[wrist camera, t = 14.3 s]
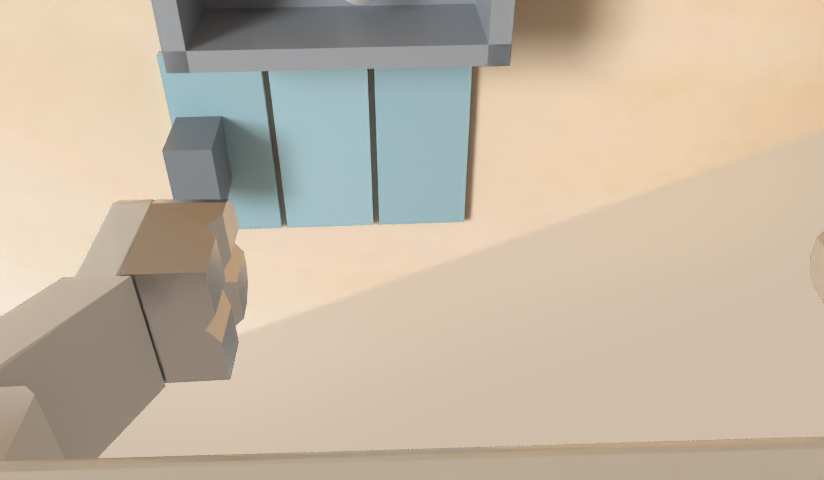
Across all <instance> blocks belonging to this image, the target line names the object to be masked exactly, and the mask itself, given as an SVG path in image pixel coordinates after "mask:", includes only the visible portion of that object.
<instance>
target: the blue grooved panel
mask: <svg viewBox="0 0 824 480" xmlns="http://www.w3.org/2000/svg"><path fill="white" fill-rule="evenodd" d="M157 59H158V64H159V68H160V73H161V77H162V82H163V86H164V91H165V96H166V100H167V105H168V109H169V114H170V119H171V123H172V128H171V131H170V133H169V136H168V138H167V141H166V143H165V146H164V148H163V151H162V152H163V156H164V160H165V165H166V169H167V173H168V178H169V182H170V186H171V191H172V195H173V199H174V200H190V199H230V200H231V201H232V203H233V204H234V206H235V210H236V215H237V219H238V224H239V227H238V229H259V228H282V217H281V209H280V201H279V193H278V185H277V178H276V170H275V162H274V154H273V147H272V139H271V131H270V123H269V116H268V108H267V100H266V92H265V85H264V77H263V71H255V72H211V73H168V74H167V73H166V68H165V64H164V59H163V54H162V51H159V52H158V54H157ZM268 75H269V83H270V91H271V99H272V107H273V115H274V123H275V131H276V139H277V147H278V155H279V163H280V171H281V179H282V187H283V195H284V203H285V211H286V219H287V227H288V228H289V227H320V226H350V225H373V200H372V174H371V149H370V123H369V97H368V71H367V69H342V70H299V71H268ZM471 79H472V67H430V68H386V69H374V81H375V111H376V142H377V172H378V203H379V225H381V224H411V223H442V222H464V215H465V196H466V176H467V157H468V137H469V118H470V99H471Z"/></svg>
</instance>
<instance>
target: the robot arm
mask: <svg viewBox="0 0 824 480" xmlns="http://www.w3.org/2000/svg"><path fill="white" fill-rule="evenodd" d="M238 227H239V224H238V219H237V215H236V210H235V206H234V204H233V203H232V201H231V200H230V199H190V200H156V201H154V200H121V201H117V202H115V203H113V204H112V205H111V206H110V208H109V210H108V212H107V214H106V216H105V218H104V220H103V222H102V224H101V226H100V228H99V230H98V232H97V234H96V236H95V238H94V239H93V241H92V243H91V245H90V247H89V249H88V251H87V253H86V255H85V257H84V259H83V261H82V263H81V265H80V267H79V269H78V271H77V273H76V275H75V277H64V278H61V279H60V280H58V281H57V282H55V283H53V284H52V285H50V286H49V287H47V288H46V289H44V290H42V291H41V292H39V293H38V294H36V295H34V296H33V297H31V298H30V299H28V300H27V301H25V302H23V303H22V304H20V305H19V306H17V307H16V308H14V309H12V310H11V311H9V312H8V313H6V314H4V315H3V316H1V317H0V480H824V437H796V438H795V437H794V438H760V439H727V440H726V439H725V440H696V441H695V440H693V441H663V442H662V441H661V442H631V443H630V442H628V443H596V444H565V445H532V446H502V447H501V446H499V447H468V448H467V447H466V448H435V449H402V450H401V449H399V450H367V451H366V450H365V451H332V452H299V453H265V454H231V455H197V456H165V457H134V458H133V457H132V458H131V457H130V458H98V457H99V456H100V454H101V453H102V452H103V451H104V450H105V449H106V448H107V447H108V446H109V445H110V444H111V443H112V442H113V441H114V440H115V439H116V438H117V437H118V436H119V435H120V434H121V432H122V431H123V430H124V429H125V428H126V427H127V426H128V425H129V424H130V423H131V422H132V421H133V420H134V419H135V417H137V416H138V415H139V414H140V412H141V411H142V410H143V409H144V408H145V407H146V406H147V405H148V404H149V403H150V402H151V401H152V400H153V399H154V398H155V397H156V396H157V395H158V394H159V393H160V391H161V390H162V389H163V388H164V387H165V384H164V383H172V382H173V383H174V382H192V381H210V380H229V379H231V374H232V370H233V365H234V361H235V356H236V352H237V347H238V343H239V342H238V337H237V332H236V327H235V326H236V325H237V324H238V323H239V322H240V321H241V320H242V319H244V315H245V309H246V304H247V288H248V280H247V268H246V261H245V256H244V251H242V250H241V249H240V248H239V247H238V246H237V245H236V244H235V239H236V235H237V231H238ZM810 257H811V258H810V260H811V261H810V262H811V278H812V281H813V284H814V288H815V290H816V291H817V293H818V294H819V296H820V298H821V299H822V301H823V302H824V232H823V233H821V234H820V235H819V236H818V237H817V239H816V242H815V245H814V248H813V251H812V253H811V256H810Z"/></svg>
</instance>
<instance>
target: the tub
mask: <svg viewBox="0 0 824 480" xmlns="http://www.w3.org/2000/svg"><path fill="white" fill-rule="evenodd" d="M151 2H152V7H153V11H154V16H155V21H156V26H157V30H158V35H159V40H160V45H161V49H162V54H163V59H164V64H165V68H166V73H167V74H168V73H211V72H255V71H299V70H342V69H386V68H430V67H473V66H510V57H511V45H512V33H513V21H514V10H515V0H151Z"/></svg>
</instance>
